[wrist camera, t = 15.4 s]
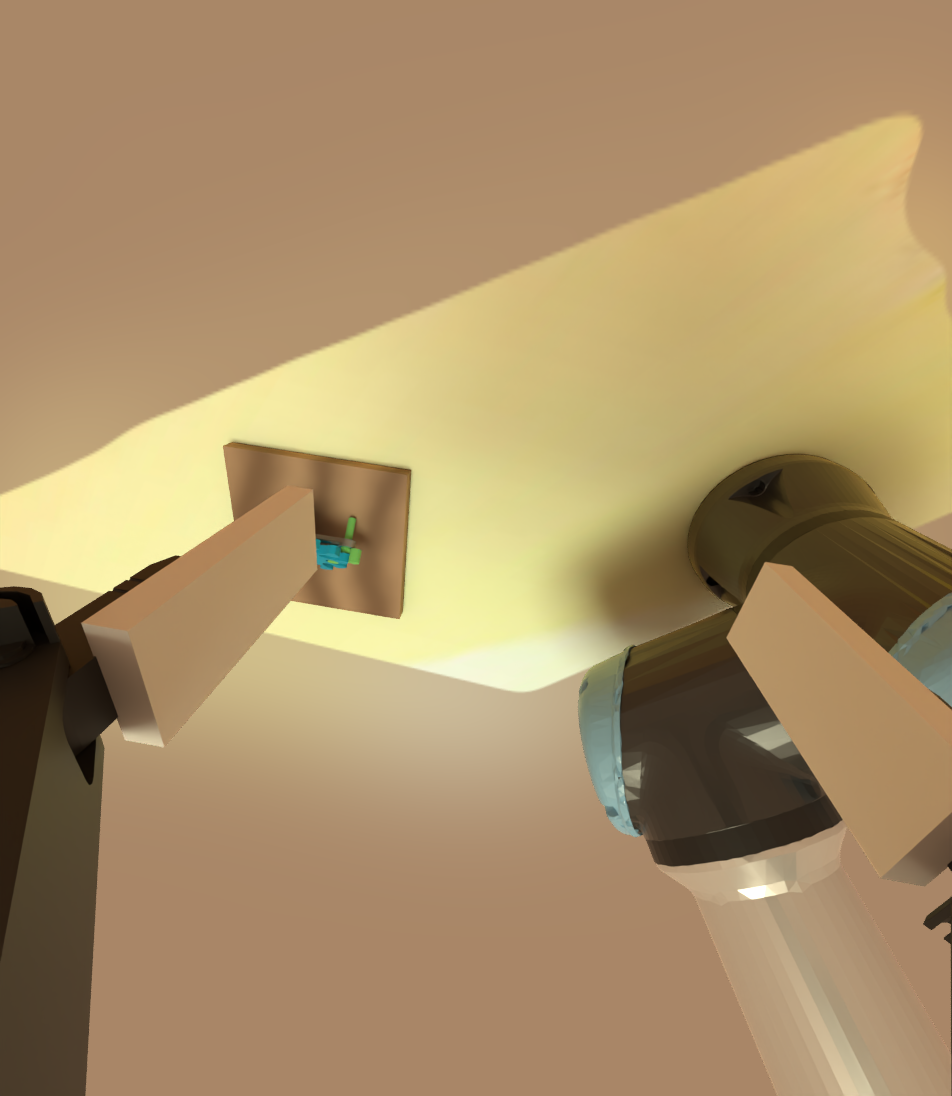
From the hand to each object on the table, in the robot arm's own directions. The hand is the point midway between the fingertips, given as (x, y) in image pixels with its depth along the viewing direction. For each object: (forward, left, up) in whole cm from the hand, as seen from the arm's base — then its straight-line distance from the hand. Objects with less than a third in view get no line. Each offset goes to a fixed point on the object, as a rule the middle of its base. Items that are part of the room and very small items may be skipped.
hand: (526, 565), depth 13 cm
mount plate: (+19, +16, -29) cm, 38 cm away
